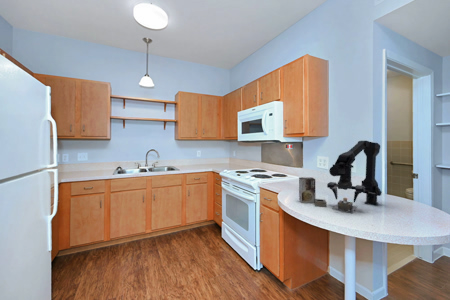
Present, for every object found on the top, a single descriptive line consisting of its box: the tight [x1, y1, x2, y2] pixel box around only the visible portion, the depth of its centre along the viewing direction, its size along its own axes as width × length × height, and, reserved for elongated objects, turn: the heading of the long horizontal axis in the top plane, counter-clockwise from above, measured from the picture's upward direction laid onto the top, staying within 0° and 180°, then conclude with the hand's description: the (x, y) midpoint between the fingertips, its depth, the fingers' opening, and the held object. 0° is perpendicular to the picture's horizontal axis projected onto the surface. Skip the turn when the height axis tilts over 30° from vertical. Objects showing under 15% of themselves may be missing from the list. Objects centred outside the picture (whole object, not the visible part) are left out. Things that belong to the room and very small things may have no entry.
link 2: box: [337, 200, 354, 210], centre depth 116 cm, size 6×6×3 cm
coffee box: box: [298, 176, 316, 204], centre depth 130 cm, size 9×6×16 cm
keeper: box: [332, 197, 358, 214], centre depth 116 cm, size 14×10×6 cm
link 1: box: [313, 198, 328, 208], centre depth 122 cm, size 6×6×3 cm
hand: (345, 200), depth 116 cm, fingers open, 9 cm apart
